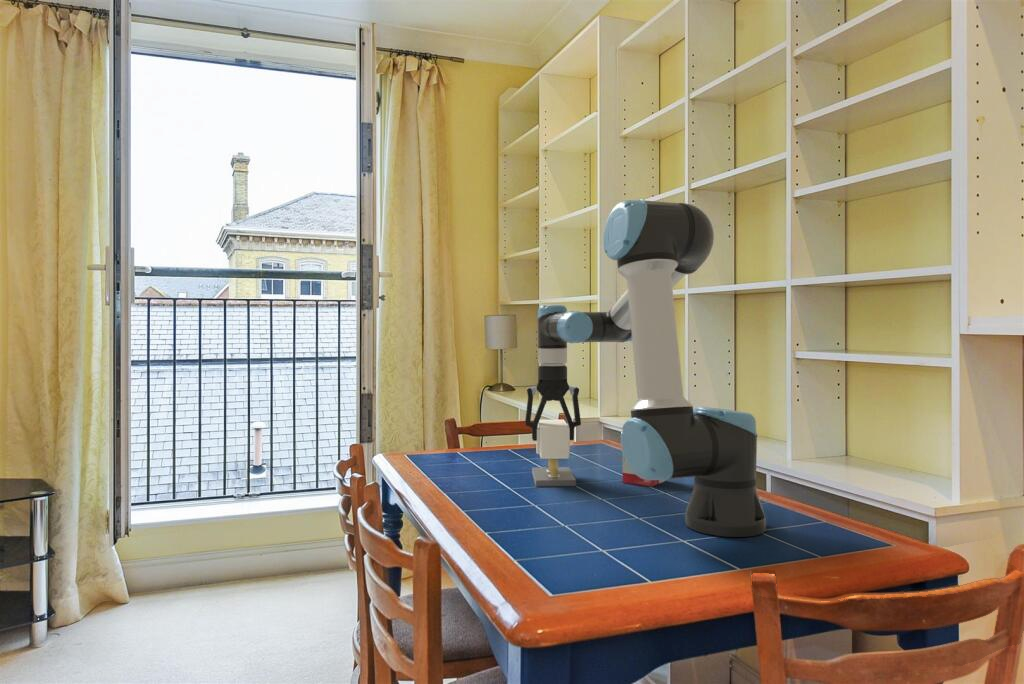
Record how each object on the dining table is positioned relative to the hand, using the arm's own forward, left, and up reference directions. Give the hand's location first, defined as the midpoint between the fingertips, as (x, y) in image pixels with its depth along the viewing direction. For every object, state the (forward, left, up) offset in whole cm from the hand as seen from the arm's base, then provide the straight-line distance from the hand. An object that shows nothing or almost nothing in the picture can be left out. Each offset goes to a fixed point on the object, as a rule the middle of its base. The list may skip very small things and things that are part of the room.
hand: (552, 452), depth 177 cm
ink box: (-4, -23, -7) cm, 24 cm away
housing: (0, 0, 0) cm, 0 cm away
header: (0, 0, -7) cm, 7 cm away
